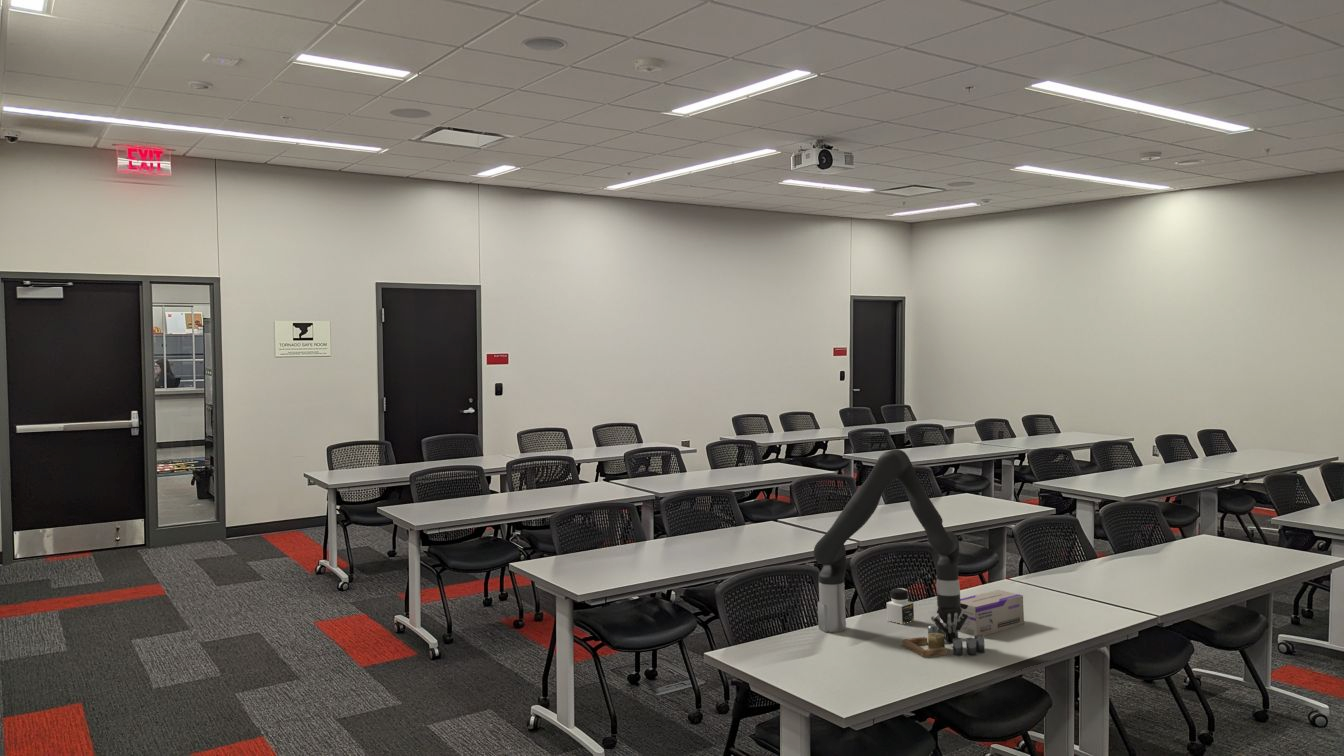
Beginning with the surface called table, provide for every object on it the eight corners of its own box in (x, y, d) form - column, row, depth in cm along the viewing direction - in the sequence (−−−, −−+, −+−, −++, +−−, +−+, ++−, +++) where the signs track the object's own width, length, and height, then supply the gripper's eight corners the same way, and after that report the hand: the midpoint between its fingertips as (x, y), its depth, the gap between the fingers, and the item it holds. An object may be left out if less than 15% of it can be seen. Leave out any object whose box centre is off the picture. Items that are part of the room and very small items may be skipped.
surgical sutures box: (999, 618, 328) (998, 589, 328) (1024, 624, 319) (1022, 595, 319) (952, 630, 316) (951, 600, 315) (976, 637, 306) (975, 607, 306)
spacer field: (959, 657, 286) (958, 642, 286) (924, 638, 307) (923, 624, 307) (989, 653, 288) (988, 638, 288) (952, 635, 309) (952, 620, 309)
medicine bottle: (902, 625, 324) (901, 592, 324) (886, 621, 329) (885, 589, 329) (914, 621, 328) (913, 589, 328) (898, 617, 334) (897, 585, 334)
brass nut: (932, 652, 292) (932, 638, 292) (924, 647, 297) (924, 634, 297) (948, 649, 294) (948, 636, 294) (940, 645, 299) (939, 632, 299)
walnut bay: (923, 657, 287) (923, 651, 287) (902, 645, 301) (902, 639, 301) (946, 654, 289) (946, 648, 289) (925, 642, 303) (924, 636, 303)
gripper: (936, 596, 292) (939, 648, 292) (972, 592, 295) (974, 644, 295) (924, 591, 299) (927, 642, 299) (959, 587, 302) (962, 637, 302)
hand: (950, 643), depth 297 cm, fingers closed
